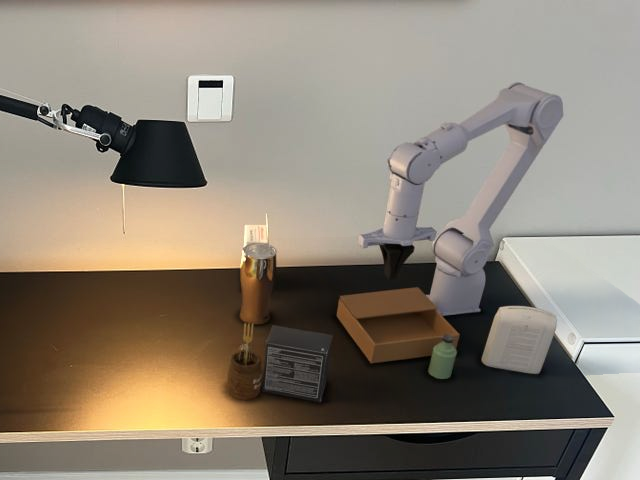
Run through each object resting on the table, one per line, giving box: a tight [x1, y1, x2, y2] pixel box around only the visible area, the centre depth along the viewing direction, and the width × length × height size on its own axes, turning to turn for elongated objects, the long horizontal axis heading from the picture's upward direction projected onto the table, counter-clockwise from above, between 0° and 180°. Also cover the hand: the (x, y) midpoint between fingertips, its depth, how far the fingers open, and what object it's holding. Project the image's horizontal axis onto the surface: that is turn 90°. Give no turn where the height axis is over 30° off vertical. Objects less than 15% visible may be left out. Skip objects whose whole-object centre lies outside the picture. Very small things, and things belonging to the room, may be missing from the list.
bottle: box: [427, 334, 458, 380], centre depth 134 cm, size 4×4×8 cm
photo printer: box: [481, 305, 558, 375], centre depth 135 cm, size 10×4×12 cm, turn 72°
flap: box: [339, 286, 438, 319], centre depth 147 cm, size 8×17×1 cm, turn 101°
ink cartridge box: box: [243, 212, 270, 248], centre depth 160 cm, size 9×5×15 cm, turn 177°
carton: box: [336, 298, 460, 364], centre depth 146 cm, size 17×17×4 cm
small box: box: [261, 325, 333, 403], centre depth 131 cm, size 11×6×10 cm, turn 71°
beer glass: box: [239, 243, 278, 326], centre depth 148 cm, size 7×7×15 cm
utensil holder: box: [226, 322, 263, 401], centre depth 130 cm, size 6×6×12 cm
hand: (390, 276), depth 145 cm, fingers closed
